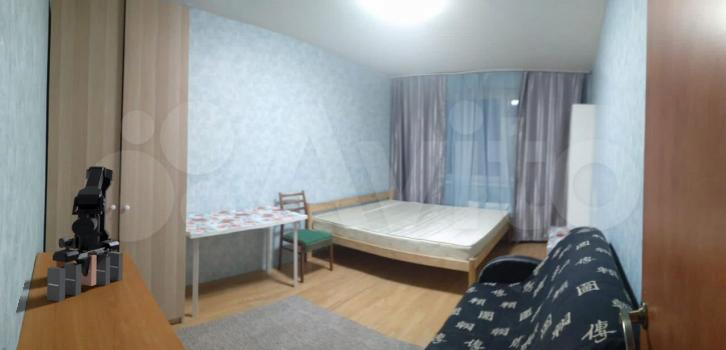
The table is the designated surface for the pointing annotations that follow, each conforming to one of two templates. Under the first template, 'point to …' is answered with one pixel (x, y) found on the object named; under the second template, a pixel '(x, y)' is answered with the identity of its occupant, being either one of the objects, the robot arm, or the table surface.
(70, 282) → the domino
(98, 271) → the domino
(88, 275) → the domino
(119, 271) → the domino
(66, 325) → the table surface
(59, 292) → the domino
